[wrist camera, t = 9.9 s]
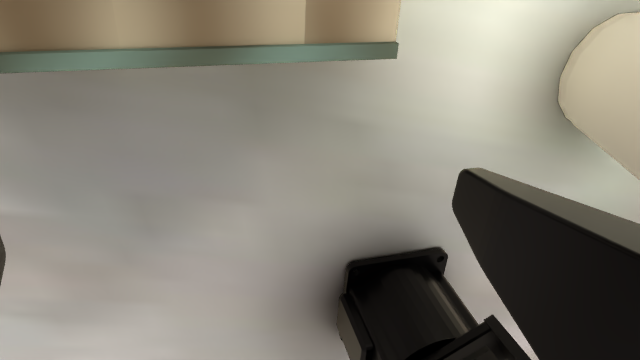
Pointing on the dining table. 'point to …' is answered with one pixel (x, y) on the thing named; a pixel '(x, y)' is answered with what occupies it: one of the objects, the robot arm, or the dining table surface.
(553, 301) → the robot arm
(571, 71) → the foam cup
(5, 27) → the well
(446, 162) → the dining table surface
